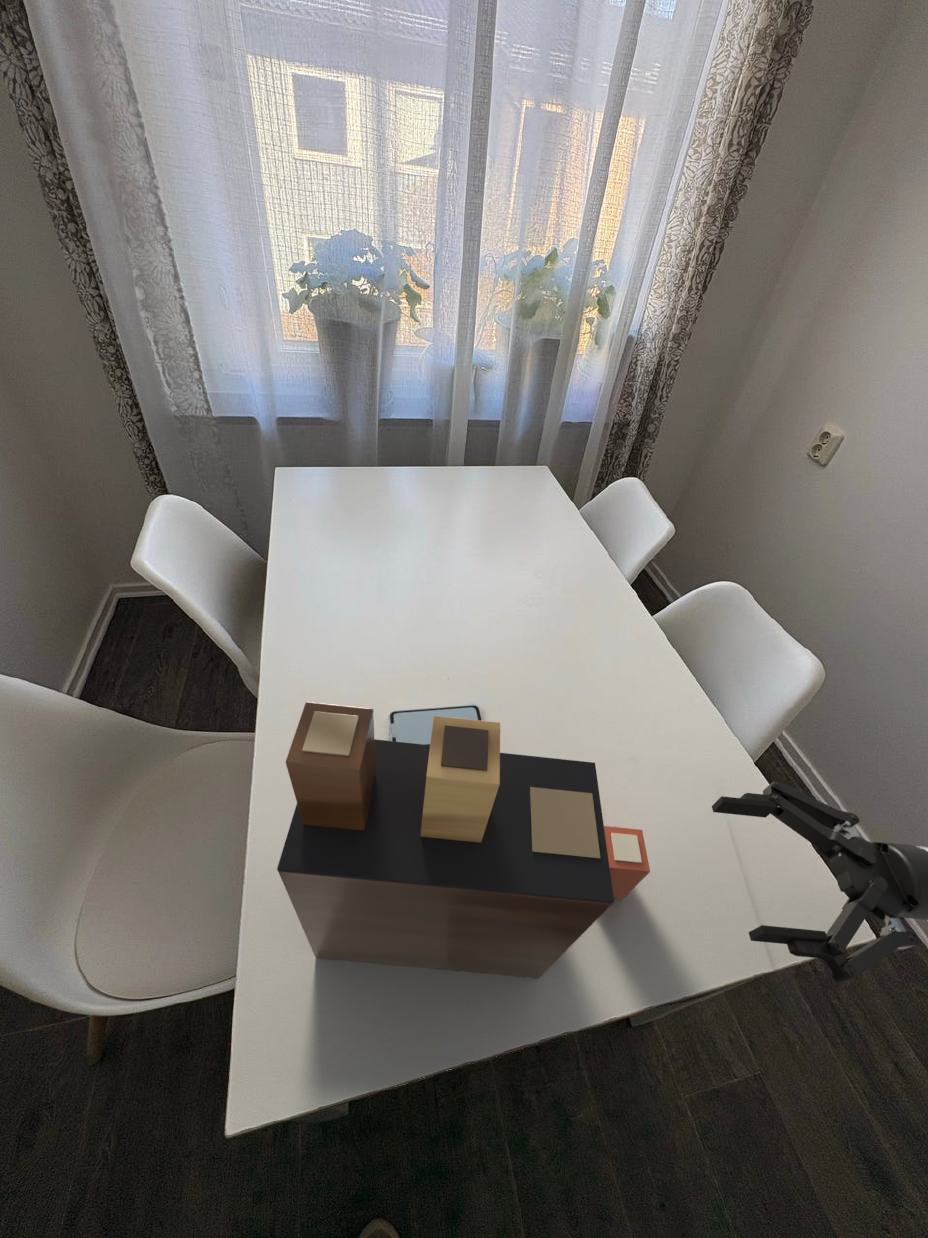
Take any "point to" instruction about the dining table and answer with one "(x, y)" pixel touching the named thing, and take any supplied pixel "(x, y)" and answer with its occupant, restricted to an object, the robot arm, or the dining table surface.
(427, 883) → the black mat
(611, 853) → the orange block
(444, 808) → the wooden pillar block
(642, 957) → the dining table surface
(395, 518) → the dining table surface
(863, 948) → the robot arm
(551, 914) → the stand
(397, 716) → the smartphone
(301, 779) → the wooden block
